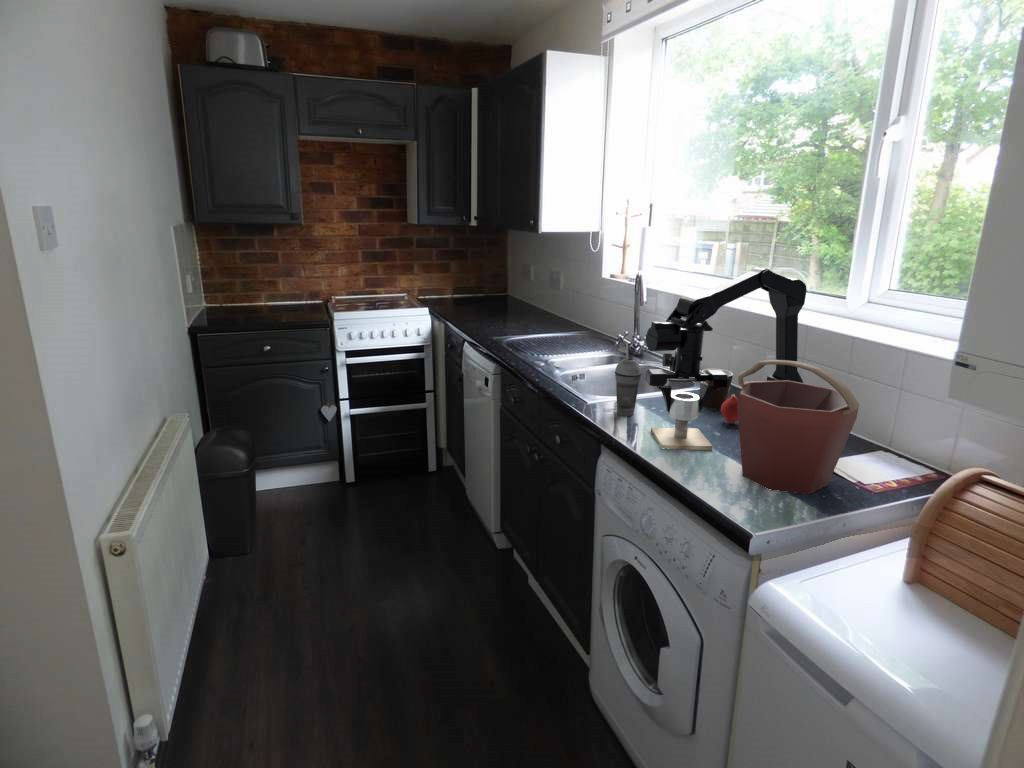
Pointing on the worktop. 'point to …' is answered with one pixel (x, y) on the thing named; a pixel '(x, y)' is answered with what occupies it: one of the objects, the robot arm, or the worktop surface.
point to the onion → (730, 409)
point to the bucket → (793, 429)
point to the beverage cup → (627, 384)
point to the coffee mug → (718, 392)
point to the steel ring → (684, 406)
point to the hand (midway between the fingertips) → (683, 411)
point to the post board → (681, 443)
